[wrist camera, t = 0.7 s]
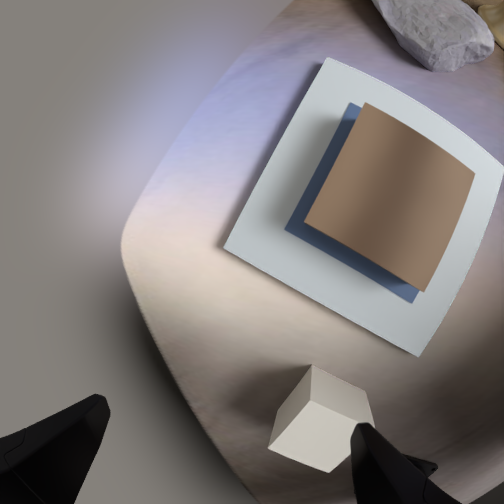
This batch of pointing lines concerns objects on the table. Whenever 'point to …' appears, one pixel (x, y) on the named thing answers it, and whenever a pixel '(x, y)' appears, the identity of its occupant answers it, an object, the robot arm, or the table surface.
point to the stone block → (438, 32)
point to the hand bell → (494, 20)
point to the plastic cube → (319, 420)
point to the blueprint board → (331, 273)
